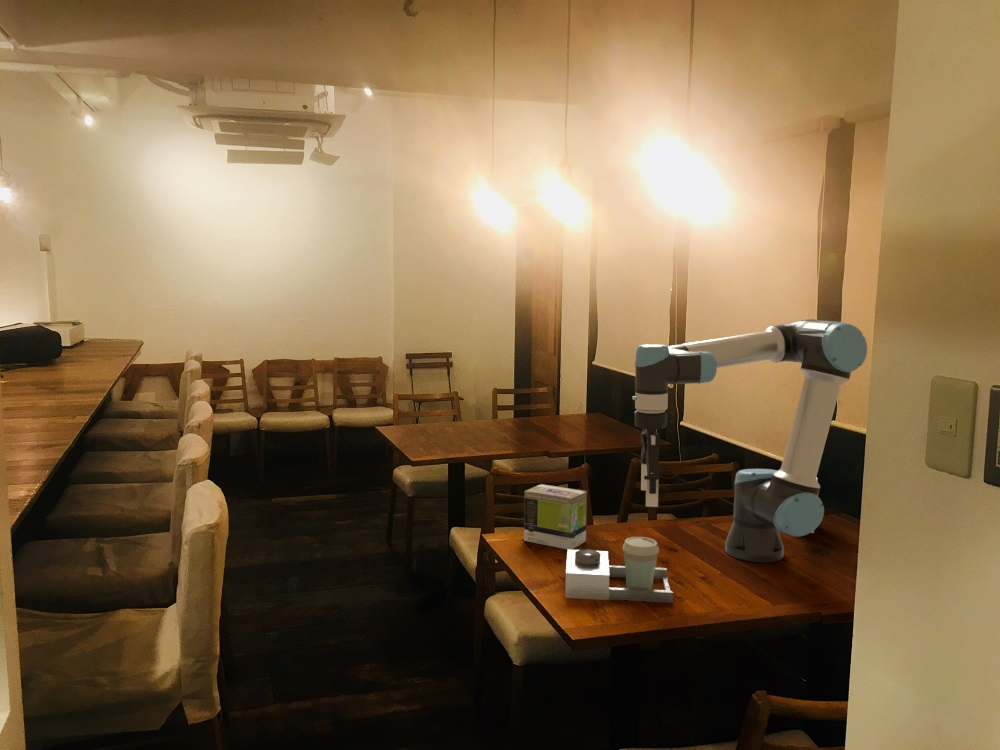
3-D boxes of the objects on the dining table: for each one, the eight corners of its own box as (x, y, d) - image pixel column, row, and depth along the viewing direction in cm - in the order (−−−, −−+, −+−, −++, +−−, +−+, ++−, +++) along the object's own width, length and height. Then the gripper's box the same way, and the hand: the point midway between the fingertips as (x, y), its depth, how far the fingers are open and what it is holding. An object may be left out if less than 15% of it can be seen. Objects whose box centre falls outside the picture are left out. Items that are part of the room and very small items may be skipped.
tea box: (586, 541, 226) (588, 490, 224) (570, 551, 217) (571, 498, 215) (540, 531, 234) (541, 482, 232) (522, 541, 225) (523, 490, 223)
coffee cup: (657, 599, 187) (659, 549, 185) (620, 595, 188) (621, 546, 187) (657, 585, 195) (659, 537, 193) (622, 582, 197) (623, 534, 195)
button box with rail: (665, 577, 200) (667, 546, 199) (672, 603, 184) (673, 570, 183) (567, 572, 202) (567, 541, 201) (565, 597, 187) (566, 564, 186)
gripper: (631, 401, 202) (629, 483, 204) (638, 420, 177) (637, 513, 180) (661, 401, 201) (659, 484, 204) (673, 420, 176) (671, 514, 179)
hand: (649, 498), depth 192 cm, fingers open, 13 cm apart
